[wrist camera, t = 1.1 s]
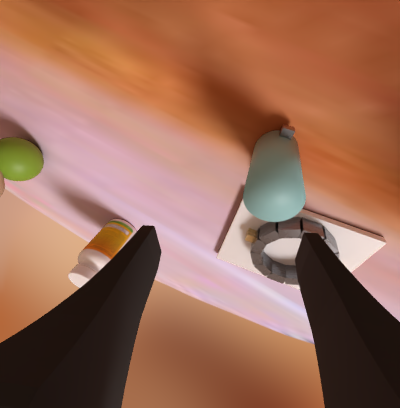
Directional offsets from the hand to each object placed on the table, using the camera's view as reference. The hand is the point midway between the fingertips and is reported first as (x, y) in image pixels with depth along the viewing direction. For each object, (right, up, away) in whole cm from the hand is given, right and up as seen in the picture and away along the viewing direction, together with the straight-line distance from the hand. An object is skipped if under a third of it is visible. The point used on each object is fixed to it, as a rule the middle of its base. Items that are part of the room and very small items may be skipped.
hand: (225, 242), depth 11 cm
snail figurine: (-24, +9, +19) cm, 32 cm away
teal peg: (+6, +7, +10) cm, 13 cm away
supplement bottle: (-13, -2, +24) cm, 28 cm away
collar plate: (+10, -3, +16) cm, 19 cm away
